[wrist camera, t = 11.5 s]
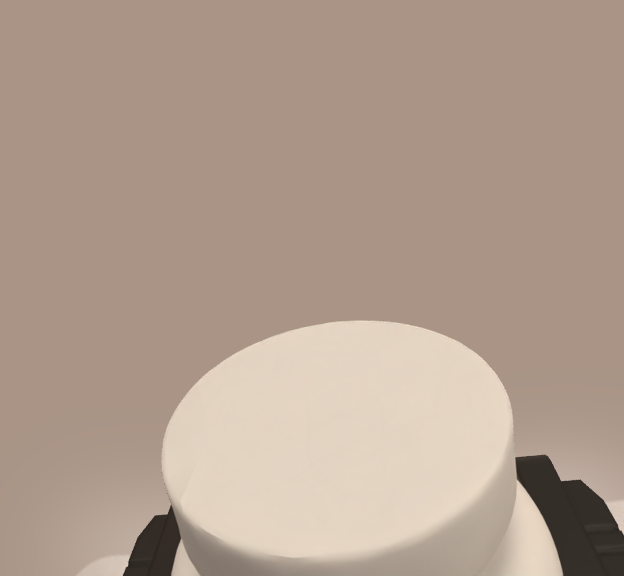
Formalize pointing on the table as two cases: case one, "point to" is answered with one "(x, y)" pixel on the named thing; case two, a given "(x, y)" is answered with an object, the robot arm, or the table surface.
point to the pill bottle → (351, 461)
